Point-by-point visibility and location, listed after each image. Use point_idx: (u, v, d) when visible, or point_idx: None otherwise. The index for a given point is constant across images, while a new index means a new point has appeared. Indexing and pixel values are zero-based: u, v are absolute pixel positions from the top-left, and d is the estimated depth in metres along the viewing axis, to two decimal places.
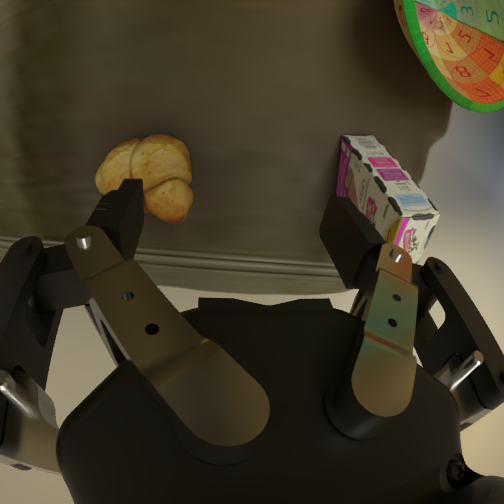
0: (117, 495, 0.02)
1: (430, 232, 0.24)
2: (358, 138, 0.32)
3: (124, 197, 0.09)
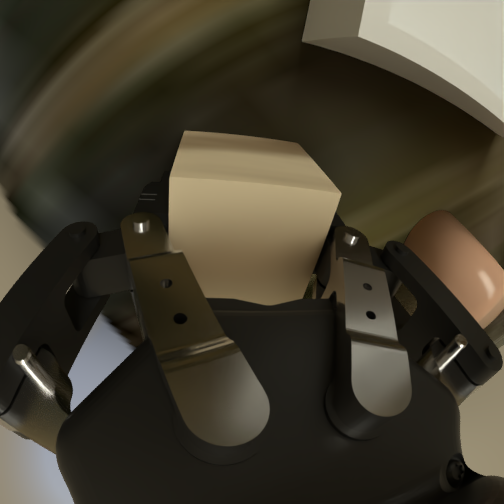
0: (103, 493, 0.02)
1: None
2: None
3: None
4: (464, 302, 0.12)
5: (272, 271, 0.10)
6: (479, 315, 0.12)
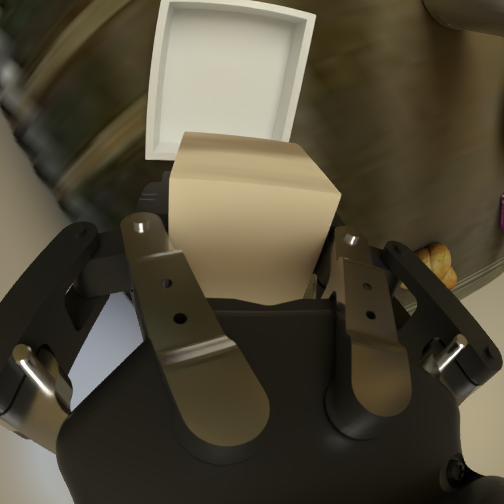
0: (103, 493, 0.02)
1: None
2: None
3: None
4: None
5: (272, 272, 0.10)
6: None
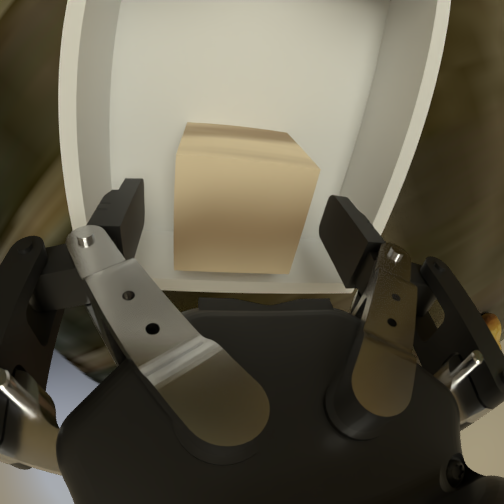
0: (117, 495, 0.02)
1: None
2: None
3: (125, 197, 0.09)
4: None
5: (263, 239, 0.11)
6: None
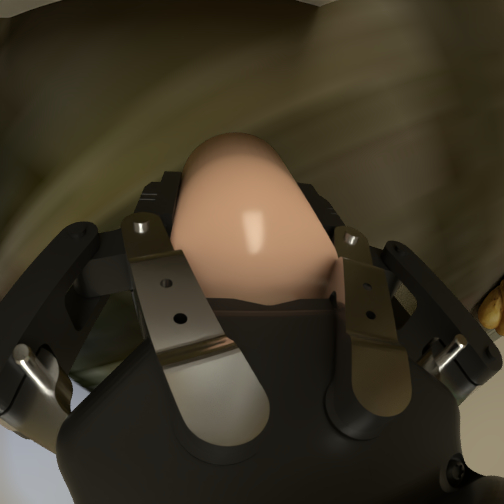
0: (103, 493, 0.02)
1: None
2: None
3: (170, 188, 0.10)
4: None
5: None
6: (220, 288, 0.08)
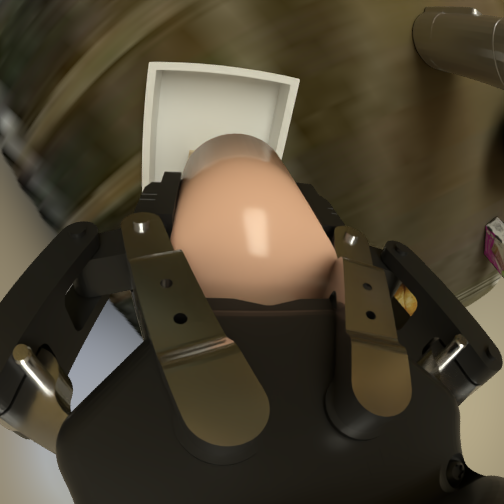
0: (103, 493, 0.02)
1: None
2: (493, 224, 0.46)
3: (170, 188, 0.10)
4: None
5: None
6: (220, 290, 0.08)
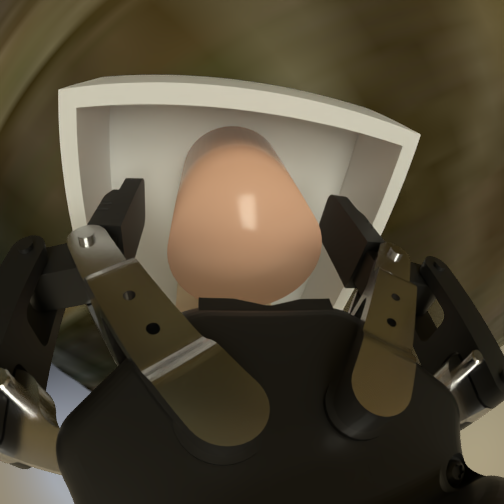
0: (117, 495, 0.02)
1: None
2: None
3: (126, 197, 0.09)
4: None
5: None
6: (216, 256, 0.09)
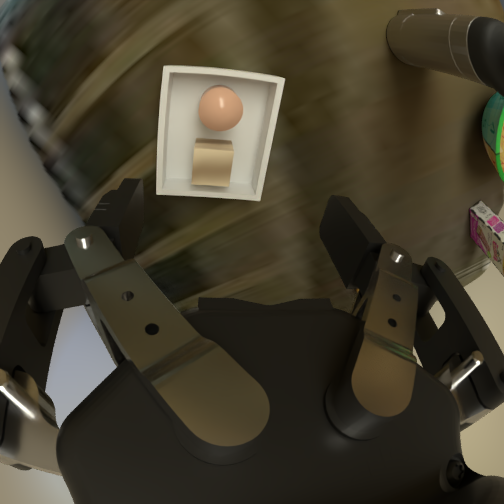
0: (117, 495, 0.02)
1: None
2: (477, 207, 0.51)
3: (124, 197, 0.09)
4: (199, 104, 0.29)
5: (219, 173, 0.36)
6: (212, 110, 0.29)
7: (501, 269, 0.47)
